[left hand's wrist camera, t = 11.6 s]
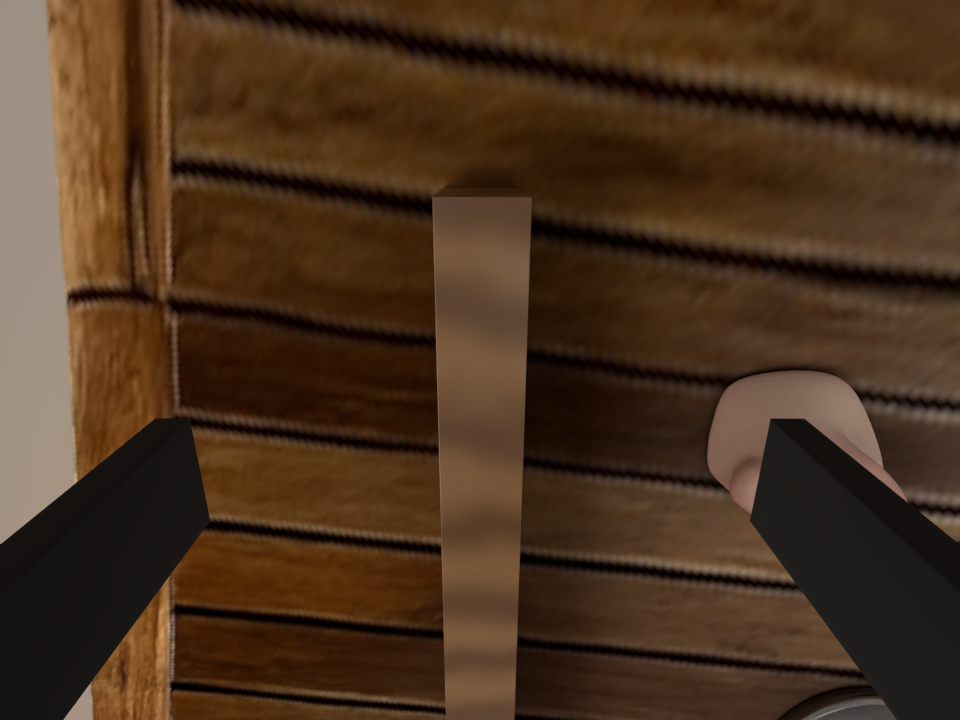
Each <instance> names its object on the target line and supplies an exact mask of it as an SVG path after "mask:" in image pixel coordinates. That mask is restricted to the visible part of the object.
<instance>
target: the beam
mask: <svg viewBox="0 0 960 720" xmlns="http://www.w3.org/2000/svg"><path fill="white" fill-rule="evenodd" d="M432 207H433V245H434V283H435V320H436V358H437V395H438V433H439V471H440V508H441V546H442V584H443V621H444V659H445V697H446V720H515V691H516V661H517V631H518V601H519V571H520V541H521V511H522V481H523V451H524V421H525V390H526V360H527V330H528V300H529V270H530V240H531V210H532V197H531V196H530V195H528V194H527V193H526V192H525V191H524V190H522V189H521V188H442V189H441V190H440V191H439V192H438V193H436V194H435V195H434V196H433V197H432Z"/></svg>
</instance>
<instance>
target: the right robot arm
mask: <svg viewBox="0 0 960 720" xmlns="http://www.w3.org/2000/svg"><path fill="white" fill-rule="evenodd" d="M781 720H897V719H896V718H895V717H894V715H893V714H892V713H891V711H890V710H889V709H888V707H887V706H886V704H885V703H884V702H883V700H882V699H881V698H880V696H879V695H878V694H877V692H876V691H875V690H874V688H855V689H847V690H841V691H836V692H832V693H829V694H825V695H822V696H819V697H817V698H814V699H812V700H810V701H808V702H806V703H804V704H802V705H800V706H798V707H797V708H795V709H794V710H792V711H791V712H789V713H788V714H787V715H785V716H784V717H783V718H782V719H781Z"/></svg>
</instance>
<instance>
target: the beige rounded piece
mask: <svg viewBox="0 0 960 720" xmlns="http://www.w3.org/2000/svg"><path fill="white" fill-rule="evenodd" d="M770 419H806V420H807V421H808V422H809V423H811V424H812V425H813V426H814V427H815V428H817V429H818V430H819V431H820V432H822V433H823V434H824V435H825V436H827V437H828V438H829V439H830V440H831V441H833V442H834V443H835V444H836V445H838V446H839V447H840V448H841V449H843V450H844V451H845V452H846V453H847V454H849V455H850V456H851V457H852V458H854V459H855V460H856V461H857V462H859V463H860V464H861V465H862V466H863V467H865V468H866V469H867V470H868V471H870V472H871V473H872V474H873V475H875V476H876V477H877V478H878V479H879V480H881V481H882V482H883V483H884V484H886V485H887V486H888V487H889V488H891V489H892V490H893V491H894V492H895V493H897V494H898V495H899V496H900V497H902V498H903V499H904V500H905V501H907V500H906V498H905V496H904V494H903V492H902V491H901V489H900V488H899V486H898V485H897V484H896V482H895V481H894V480H893V479H892V477H891V476H890V475H889V474H888V473H887V472H886V471H885V470H884V469H883V463H882V458H881V453H880V449H879V446H878V443H877V440H876V437H875V434H874V431H873V428H872V426H871V423H870V421H869V418H868V416H867V413H866V411H865V409H864V407H863V405H862V403H861V401H860V400H859V398H858V396H857V395H856V393H855V392H854V391H853V389H852V388H851V387H850V386H849V385H848V384H847V383H846V382H844V381H843V380H841V379H840V378H838V377H836V376H833V375H831V374H827V373H823V372H816V371H805V370H792V371H778V372H770V373H762V374H757V375H752V376H748V377H745V378H742V379H740V380H738V381H736V382H734V383H732V384H731V385H730V386H729V387H728V388H727V389H726V390H725V391H724V393H723V395H722V396H721V398H720V401H719V403H718V406H717V408H716V412H715V415H714V419H713V423H712V426H711V430H710V435H709V442H708V453H707V461H708V466H709V469H710V471H711V473H712V474H713V476H714V477H715V478H716V479H717V480H718V481H719V482H720V483H721V484H722V485H723V486H724V487H725V488H727V489H728V490H729V491H730V495H731V497H732V499H733V500H734V501H735V502H736V503H737V504H738V505H739V506H740V507H741V508H743V509H744V510H745V511H747V512H748V513H750V514H751V513H752V508H753V503H754V498H755V493H756V488H757V483H758V478H759V473H760V468H761V463H762V459H763V454H764V449H765V444H766V439H767V434H768V429H769V424H770Z"/></svg>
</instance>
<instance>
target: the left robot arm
mask: <svg viewBox="0 0 960 720" xmlns="http://www.w3.org/2000/svg"><path fill="white" fill-rule="evenodd" d="M209 522H210V518H209V513H208V508H207V503H206V498H205V493H204V488H203V483H202V478H201V473H200V468H199V463H198V459H197V454H196V449H195V444H194V439H193V434H192V429H191V424H190V419H154V420H153V421H152V422H151V423H149V424H148V425H147V426H146V427H145V428H143V429H142V430H141V431H140V432H138V433H137V434H136V435H135V436H133V437H132V438H131V439H130V440H129V441H127V442H126V443H125V444H124V445H122V446H121V447H120V448H119V449H117V450H116V451H115V452H114V453H113V454H111V455H110V456H109V457H108V458H106V459H105V460H104V461H103V462H101V463H100V464H99V465H98V466H97V467H95V468H94V469H93V470H92V471H90V472H89V473H88V474H87V475H85V476H84V477H83V478H82V479H81V480H79V481H78V482H77V483H76V484H74V485H73V486H72V487H71V488H70V489H68V490H67V491H66V492H65V493H63V494H62V495H61V496H60V497H58V498H57V499H56V500H55V501H53V502H52V503H51V504H50V505H49V506H47V507H46V508H45V509H44V510H42V511H41V512H40V513H39V514H37V515H36V516H35V517H34V518H33V519H31V520H30V521H29V522H28V523H26V524H25V525H24V526H23V527H21V528H20V529H19V530H18V531H17V532H15V533H14V534H13V535H12V536H10V537H9V538H8V539H7V540H6V541H4V542H3V543H2V544H0V720H63V719H64V718H65V717H66V715H67V714H68V713H69V711H70V710H71V709H72V707H73V706H74V704H75V703H76V702H77V700H78V699H79V698H80V696H81V695H82V694H83V692H84V691H85V690H86V688H87V687H88V686H89V684H90V683H91V681H92V680H93V679H94V677H95V676H96V675H97V673H98V672H99V671H100V669H101V668H102V667H103V665H104V664H105V662H106V661H107V660H108V658H109V657H110V656H111V654H112V653H113V652H114V650H115V649H116V648H117V646H118V645H119V644H120V642H121V641H122V639H123V638H124V637H125V635H126V634H127V633H128V631H129V630H130V629H131V627H132V626H133V625H134V623H135V622H136V620H137V619H138V618H139V616H140V615H141V614H142V612H143V611H144V610H145V608H146V607H147V606H148V604H149V603H150V601H151V600H152V599H153V597H154V596H155V595H156V593H157V592H158V591H159V589H160V588H161V587H162V585H163V584H164V583H165V581H166V580H167V578H168V577H169V576H170V574H171V573H172V572H173V570H174V569H175V568H176V566H177V565H178V564H179V562H180V561H181V559H182V558H183V557H184V555H185V554H186V553H187V551H188V550H189V549H190V547H191V546H192V545H193V543H194V542H195V540H196V539H197V538H198V536H199V535H200V534H201V532H202V531H203V530H204V528H205V527H206V526H207V524H208V523H209ZM750 522H751V523H752V524H753V526H754V527H755V528H756V530H757V531H758V532H759V534H760V535H761V536H762V538H763V539H764V540H765V542H766V543H767V545H768V546H769V547H770V549H771V550H772V551H773V553H774V554H775V555H776V557H777V558H778V559H779V561H780V562H781V564H782V565H783V566H784V568H785V569H786V570H787V572H788V573H789V574H790V576H791V577H792V578H793V580H794V581H795V583H796V584H797V585H798V587H799V588H800V589H801V591H802V592H803V593H804V595H805V596H806V597H807V599H808V600H809V601H810V603H811V604H812V606H813V607H814V608H815V610H816V611H817V612H818V614H819V615H820V616H821V618H822V619H823V620H824V622H825V623H826V625H827V626H828V627H829V629H830V630H831V631H832V633H833V634H834V635H835V637H836V638H837V639H838V641H839V642H840V644H841V645H842V646H843V648H844V649H845V650H846V652H847V653H848V654H849V656H850V657H851V658H852V660H853V661H854V662H855V664H856V665H857V667H858V668H859V669H860V671H861V672H862V673H863V675H864V676H865V677H866V679H867V680H868V681H869V683H870V684H871V686H872V687H873V688H874V690H875V691H876V692H877V694H878V695H879V696H880V698H881V699H882V700H883V702H884V703H885V704H886V706H887V707H888V709H889V710H890V711H891V713H892V714H893V715H894V717H895V718H896V719H897V720H960V542H956V541H955V540H953V539H952V538H951V537H950V536H948V535H947V534H946V533H945V532H943V531H942V530H941V529H940V528H939V527H937V526H936V525H935V524H934V523H932V522H931V521H930V520H929V519H927V518H926V517H925V516H924V515H923V514H921V513H920V512H919V511H918V510H916V509H915V508H914V507H913V506H911V505H910V504H909V503H908V502H907V501H905V500H904V499H903V498H902V497H900V496H899V495H898V494H897V493H895V492H894V491H893V490H892V489H891V488H889V487H888V486H887V485H886V484H884V483H883V482H882V481H881V480H879V479H878V478H877V477H876V476H875V475H873V474H872V473H871V472H870V471H868V470H867V469H866V468H865V467H863V466H862V465H861V464H860V463H859V462H857V461H856V460H855V459H854V458H852V457H851V456H850V455H849V454H847V453H846V452H845V451H844V450H843V449H841V448H840V447H839V446H838V445H836V444H835V443H834V442H833V441H831V440H830V439H829V438H828V437H827V436H825V435H824V434H823V433H822V432H820V431H819V430H818V429H817V428H815V427H814V426H813V425H812V424H811V423H809V422H808V421H807V420H806V419H770V424H769V429H768V434H767V439H766V444H765V449H764V454H763V459H762V463H761V468H760V473H759V478H758V483H757V488H756V493H755V498H754V503H753V508H752V513H751V518H750Z"/></svg>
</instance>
